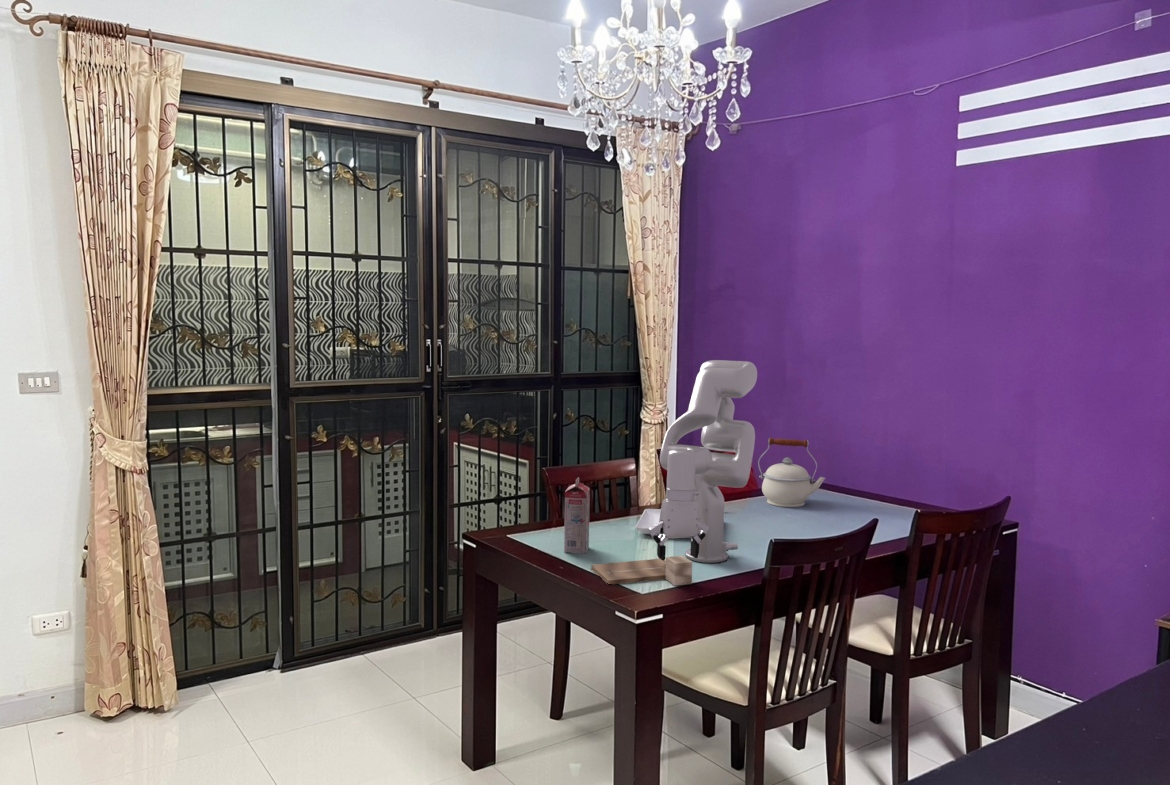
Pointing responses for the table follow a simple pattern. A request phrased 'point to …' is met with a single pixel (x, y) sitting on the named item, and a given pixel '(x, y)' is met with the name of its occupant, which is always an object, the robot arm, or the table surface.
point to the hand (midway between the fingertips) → (677, 558)
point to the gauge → (678, 570)
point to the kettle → (788, 479)
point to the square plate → (648, 521)
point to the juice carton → (576, 518)
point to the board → (631, 571)
